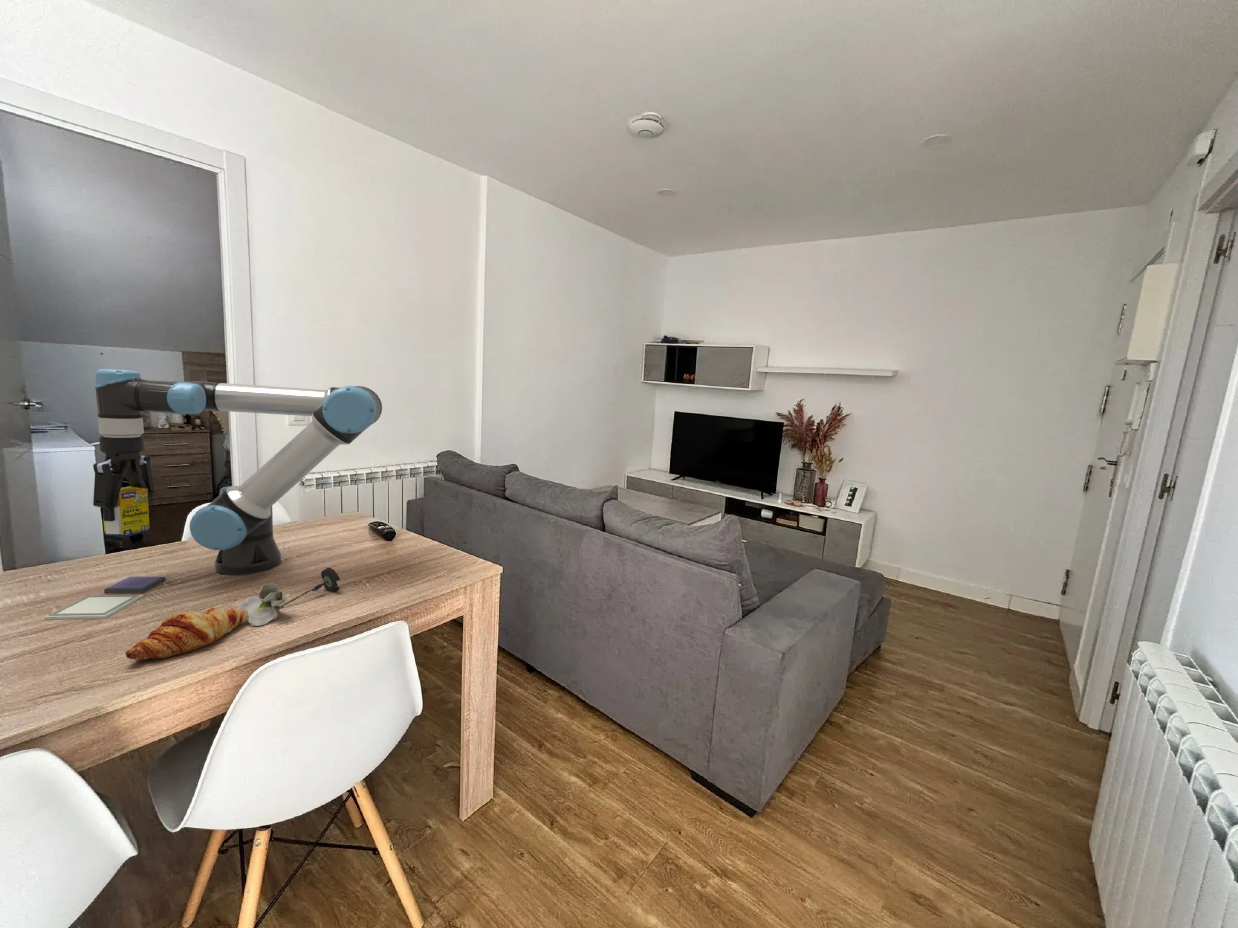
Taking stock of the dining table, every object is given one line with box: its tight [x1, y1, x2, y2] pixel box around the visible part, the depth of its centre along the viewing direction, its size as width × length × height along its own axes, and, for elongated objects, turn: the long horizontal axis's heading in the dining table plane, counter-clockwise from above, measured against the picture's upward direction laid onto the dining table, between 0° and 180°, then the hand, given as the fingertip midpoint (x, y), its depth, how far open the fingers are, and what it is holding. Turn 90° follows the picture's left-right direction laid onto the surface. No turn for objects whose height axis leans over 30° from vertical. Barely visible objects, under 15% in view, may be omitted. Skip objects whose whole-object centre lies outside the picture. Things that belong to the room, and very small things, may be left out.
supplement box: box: [102, 485, 151, 539], centre depth 121 cm, size 6×6×11 cm
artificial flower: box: [237, 567, 341, 627], centre depth 119 cm, size 9×22×10 cm, turn 155°
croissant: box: [125, 607, 249, 660], centre depth 101 cm, size 21×10×8 cm, turn 160°
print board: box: [44, 594, 144, 620], centre depth 113 cm, size 11×11×1 cm
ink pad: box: [103, 576, 167, 594], centre depth 124 cm, size 8×8×1 cm
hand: (127, 528), depth 121 cm, fingers closed on supplement box, 7 cm apart
